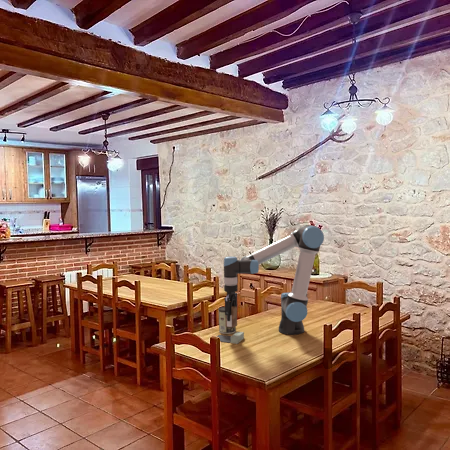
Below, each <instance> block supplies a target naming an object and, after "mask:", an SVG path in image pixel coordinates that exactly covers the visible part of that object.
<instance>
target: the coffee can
mask: <svg viewBox="0 0 450 450" xmlns="http://www.w3.org/2000/svg"><path fill="white" fill-rule="evenodd" d="M218 332H219V333H220V334H221V335H233V334H235V333H236V332H237V326H236V327H235V328H229V327H226V324H225V306H220V307H218Z"/></svg>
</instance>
